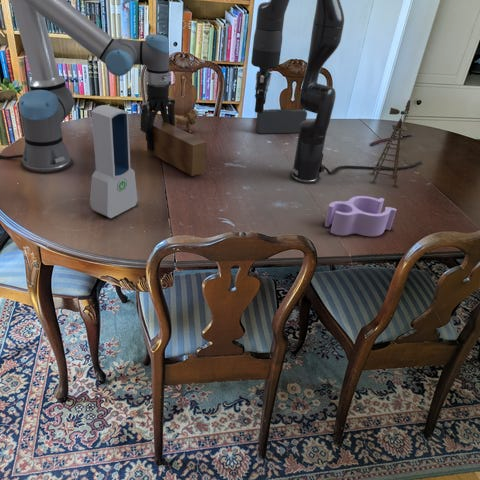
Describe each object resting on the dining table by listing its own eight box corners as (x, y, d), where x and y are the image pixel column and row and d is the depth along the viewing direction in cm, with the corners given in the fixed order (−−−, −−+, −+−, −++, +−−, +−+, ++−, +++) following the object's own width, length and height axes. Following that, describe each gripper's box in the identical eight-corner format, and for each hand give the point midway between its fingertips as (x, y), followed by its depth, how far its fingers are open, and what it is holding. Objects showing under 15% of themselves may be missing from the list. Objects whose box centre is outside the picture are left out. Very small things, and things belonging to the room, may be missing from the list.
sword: (408, 133, 222) (409, 131, 221) (413, 135, 220) (414, 133, 219) (365, 145, 206) (365, 142, 205) (370, 147, 204) (371, 145, 203)
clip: (337, 240, 135) (342, 219, 131) (318, 218, 145) (322, 198, 141) (395, 233, 141) (402, 213, 137) (373, 213, 151) (378, 194, 147)
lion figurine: (196, 128, 202) (197, 107, 197) (199, 132, 198) (200, 111, 193) (162, 129, 197) (162, 108, 192) (165, 133, 193) (165, 112, 188)
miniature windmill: (395, 186, 170) (420, 105, 154) (372, 182, 171) (394, 101, 155) (394, 176, 177) (417, 97, 161) (371, 173, 178) (392, 94, 162)
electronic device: (108, 220, 133) (101, 117, 116) (89, 211, 136) (79, 109, 119) (138, 204, 142) (135, 106, 125) (120, 196, 145) (115, 100, 129)
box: (147, 151, 173) (146, 122, 167) (160, 147, 177) (160, 119, 171) (191, 176, 158) (192, 145, 152) (205, 171, 162) (206, 141, 156)
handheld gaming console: (301, 130, 212) (305, 108, 207) (304, 132, 210) (308, 110, 205) (254, 131, 205) (257, 109, 200) (256, 134, 203) (259, 111, 197)
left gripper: (140, 90, 152) (142, 156, 164) (186, 83, 164) (184, 145, 176) (127, 84, 156) (130, 149, 169) (173, 78, 168) (172, 139, 181)
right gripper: (279, 54, 117) (271, 117, 126) (282, 44, 129) (274, 102, 138) (250, 50, 117) (243, 113, 126) (255, 40, 129) (249, 99, 138)
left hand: (158, 147), depth 172 cm, fingers closed on box, 6 cm apart
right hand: (260, 107), depth 132 cm, fingers open, 8 cm apart
